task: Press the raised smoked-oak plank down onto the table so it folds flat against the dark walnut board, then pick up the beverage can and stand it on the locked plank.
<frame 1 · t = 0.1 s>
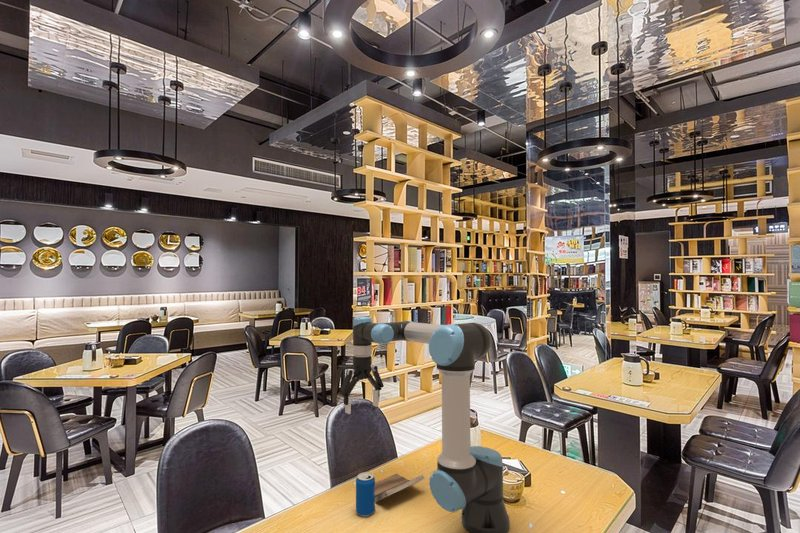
hand: (362, 409, 155), 28 cm above the table, fingers open, 13 cm apart
walnut board: (393, 493, 145), on the table
beverage can: (365, 512, 132), on the table
plank: (400, 487, 142), point 3 cm above the table, hinge at 35.0°
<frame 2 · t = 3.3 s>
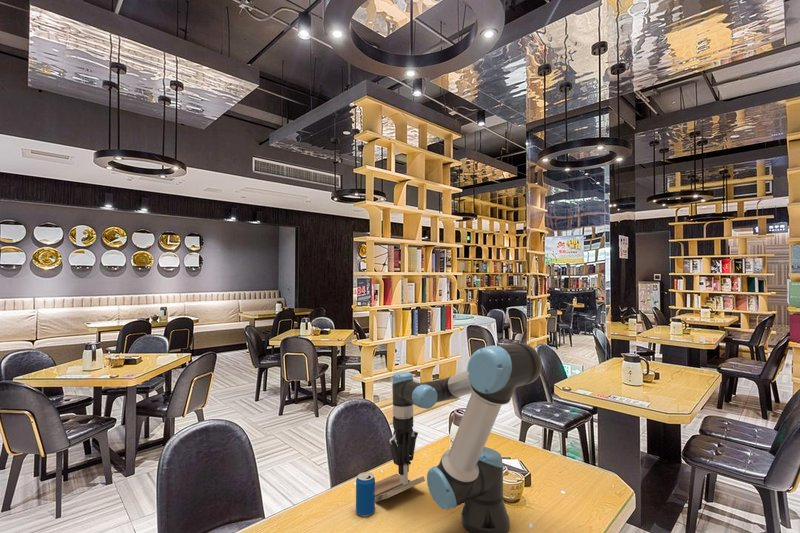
hand: (403, 482, 141), 6 cm above the table, fingers closed
plank: (400, 488, 142), point 3 cm above the table, hinge at 30.6°, touching gripper
everything else where it was.
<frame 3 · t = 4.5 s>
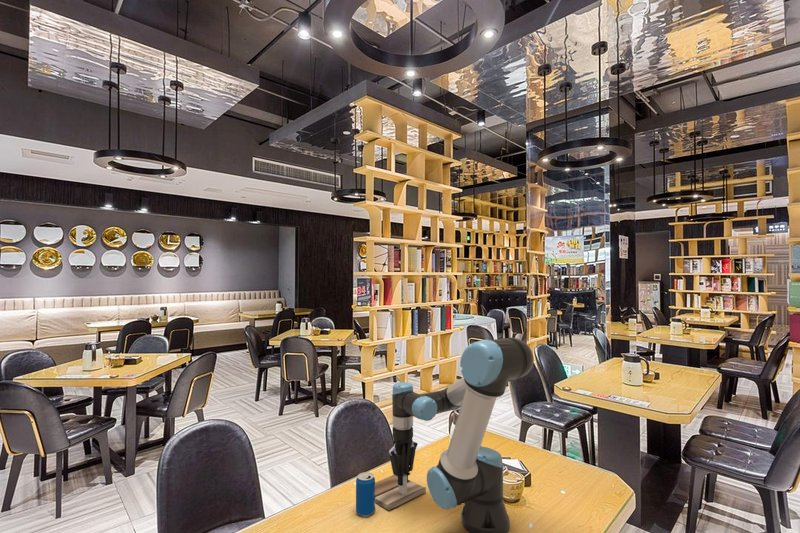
hand: (403, 493, 141), 2 cm above the table, fingers closed
plank: (400, 494, 142), point 1 cm above the table, hinge at 3.0°, touching gripper
everything else where it was.
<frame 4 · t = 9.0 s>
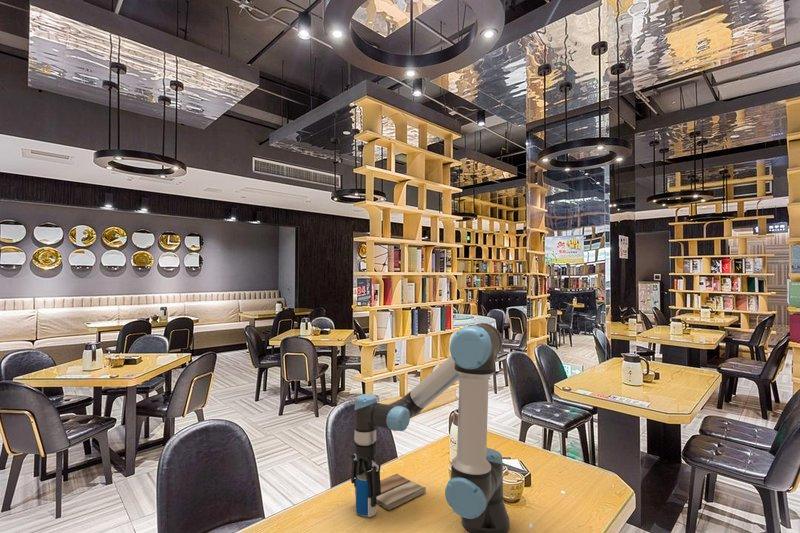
hand: (365, 510, 133), 0 cm above the table, fingers closed on beverage can, 6 cm apart
beverage can: (365, 512, 132), on the table, touching gripper
plank: (400, 494, 142), point 1 cm above the table, hinge at 3.0°
when the fingers open (3 cm above the table, at t = 13.7 s): beverage can drops 1 cm, resting on plank.
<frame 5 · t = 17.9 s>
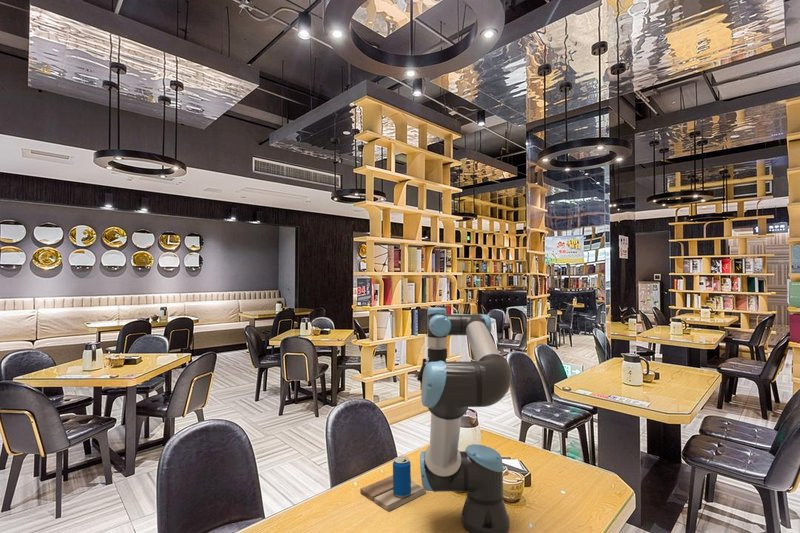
hand: (437, 403, 150), 32 cm above the table, fingers open, 13 cm apart
beverage can: (402, 494, 141), point 2 cm above the table, touching plank
plank: (400, 495, 142), point 1 cm above the table, hinge at 0.7°, touching beverage can
at the end: plank at +1° (first picture: +35°); beverage can inside the target area (0.6 cm from its centre), point 1.5 cm above the table; beverage can tilted 2° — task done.
